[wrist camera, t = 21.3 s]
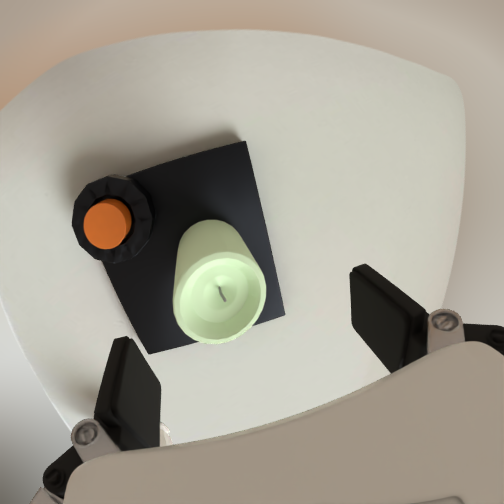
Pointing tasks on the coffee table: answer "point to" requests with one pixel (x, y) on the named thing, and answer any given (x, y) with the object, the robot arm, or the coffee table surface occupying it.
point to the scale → (176, 233)
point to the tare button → (107, 223)
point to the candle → (216, 284)
